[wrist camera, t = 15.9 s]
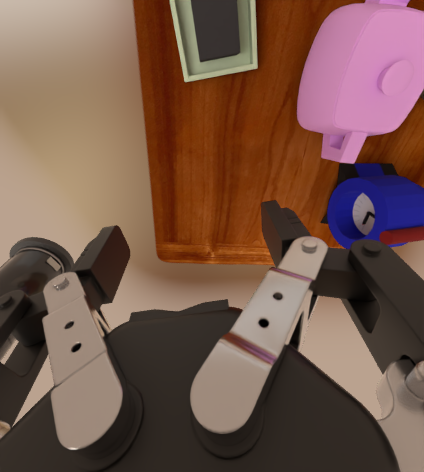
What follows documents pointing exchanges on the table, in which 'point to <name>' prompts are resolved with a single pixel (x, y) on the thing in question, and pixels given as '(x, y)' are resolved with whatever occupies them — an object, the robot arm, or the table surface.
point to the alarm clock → (375, 206)
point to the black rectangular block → (216, 28)
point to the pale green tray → (217, 67)
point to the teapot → (362, 75)
